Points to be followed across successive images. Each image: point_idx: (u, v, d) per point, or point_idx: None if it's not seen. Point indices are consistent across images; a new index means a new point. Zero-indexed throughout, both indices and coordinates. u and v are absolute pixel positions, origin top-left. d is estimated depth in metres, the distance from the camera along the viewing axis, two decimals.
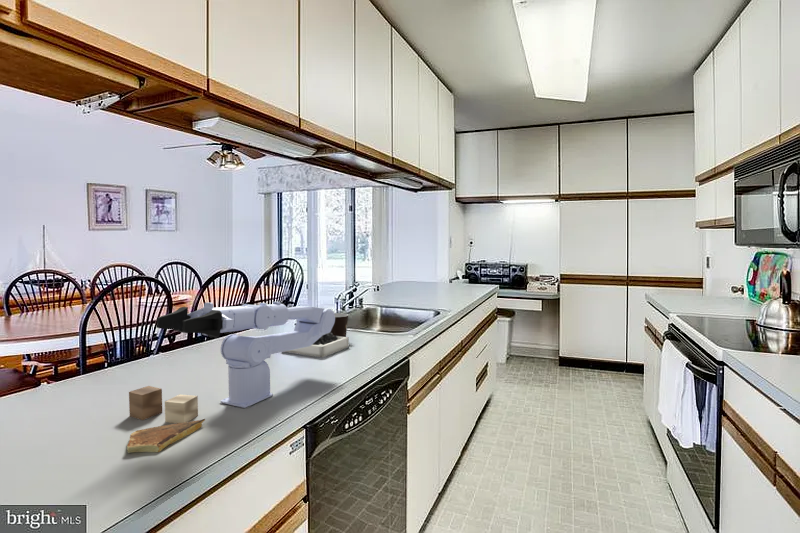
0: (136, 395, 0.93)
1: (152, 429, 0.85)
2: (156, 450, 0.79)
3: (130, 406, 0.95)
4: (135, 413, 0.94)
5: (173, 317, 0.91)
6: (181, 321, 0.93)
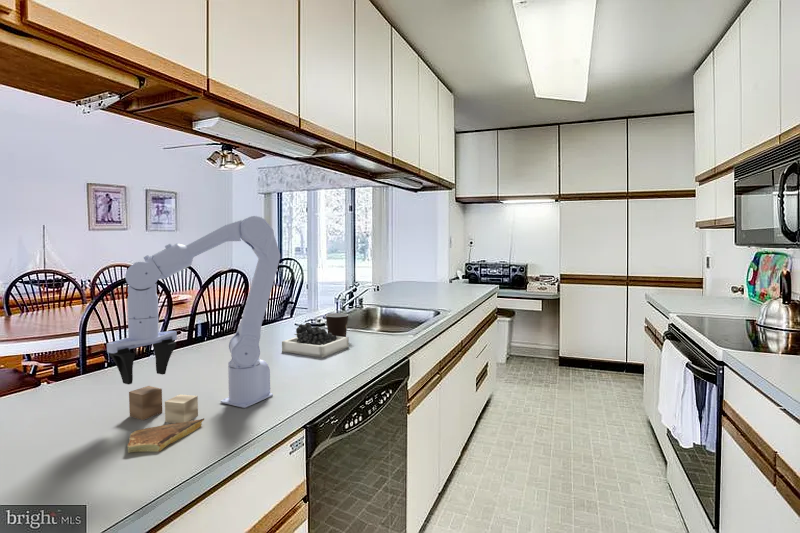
0: (136, 395, 0.93)
1: (152, 429, 0.85)
2: (157, 449, 0.79)
3: (130, 406, 0.95)
4: (135, 413, 0.94)
5: (157, 358, 0.99)
6: (160, 350, 0.98)
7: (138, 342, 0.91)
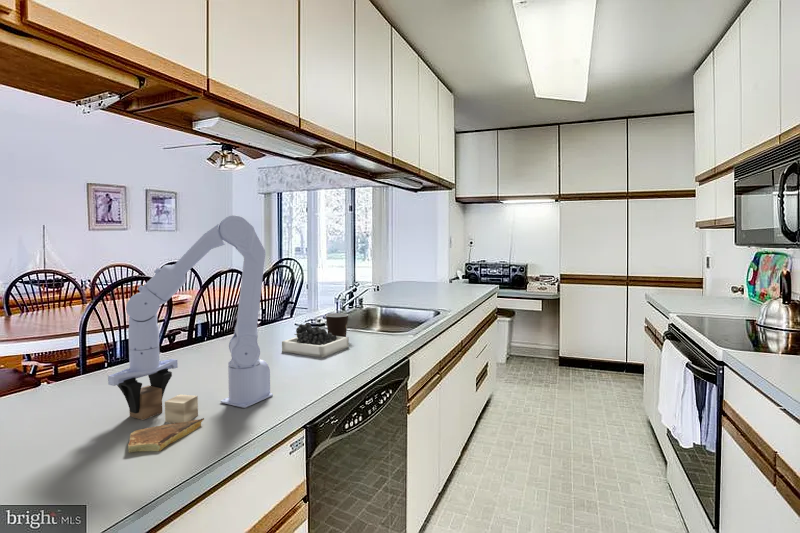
0: None
1: (152, 428, 0.85)
2: (157, 448, 0.79)
3: None
4: (135, 413, 0.94)
5: None
6: (156, 381, 0.98)
7: (139, 373, 0.92)
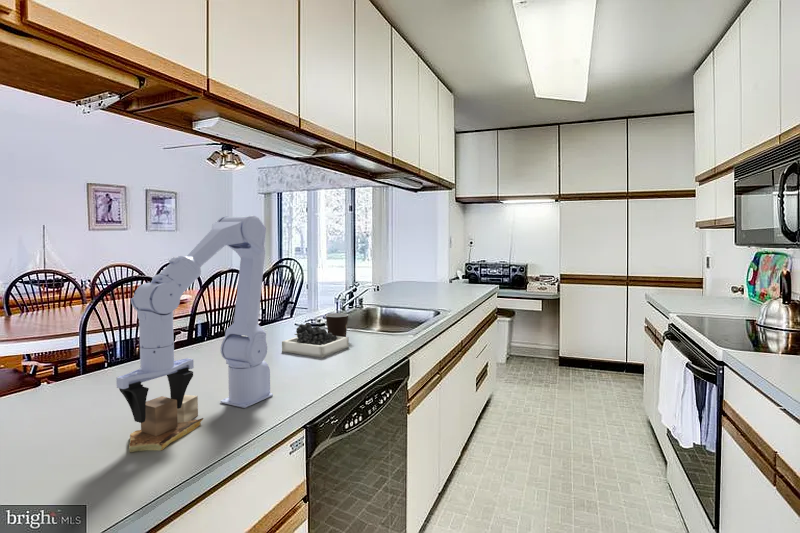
0: (148, 408, 0.82)
1: None
2: (159, 448, 0.80)
3: None
4: (147, 428, 0.83)
5: (172, 390, 0.88)
6: (175, 382, 0.88)
7: (152, 375, 0.81)
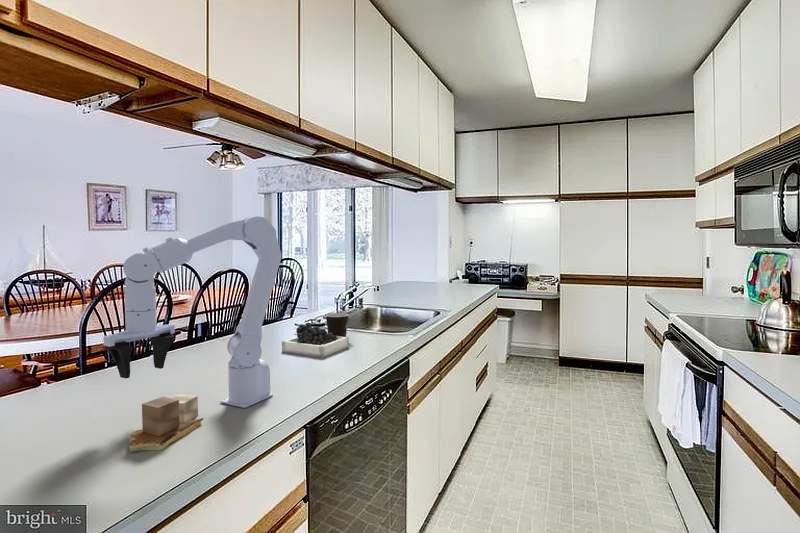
0: (151, 408, 0.82)
1: None
2: (159, 448, 0.80)
3: (143, 420, 0.83)
4: (149, 428, 0.83)
5: (155, 352, 0.97)
6: (158, 344, 0.97)
7: (136, 335, 0.90)
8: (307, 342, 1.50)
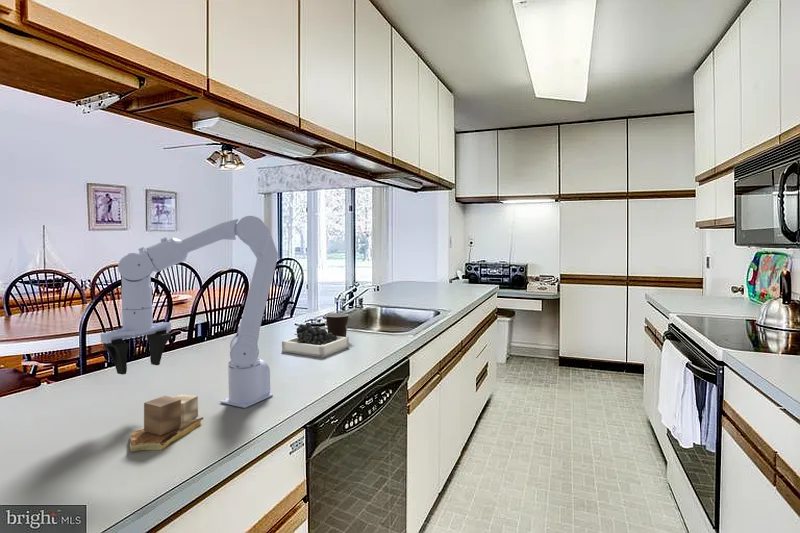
0: (153, 407, 0.82)
1: None
2: (159, 448, 0.80)
3: (145, 419, 0.83)
4: (151, 427, 0.83)
5: (152, 350, 1.00)
6: (154, 341, 0.99)
7: (132, 333, 0.92)
8: (307, 342, 1.50)
